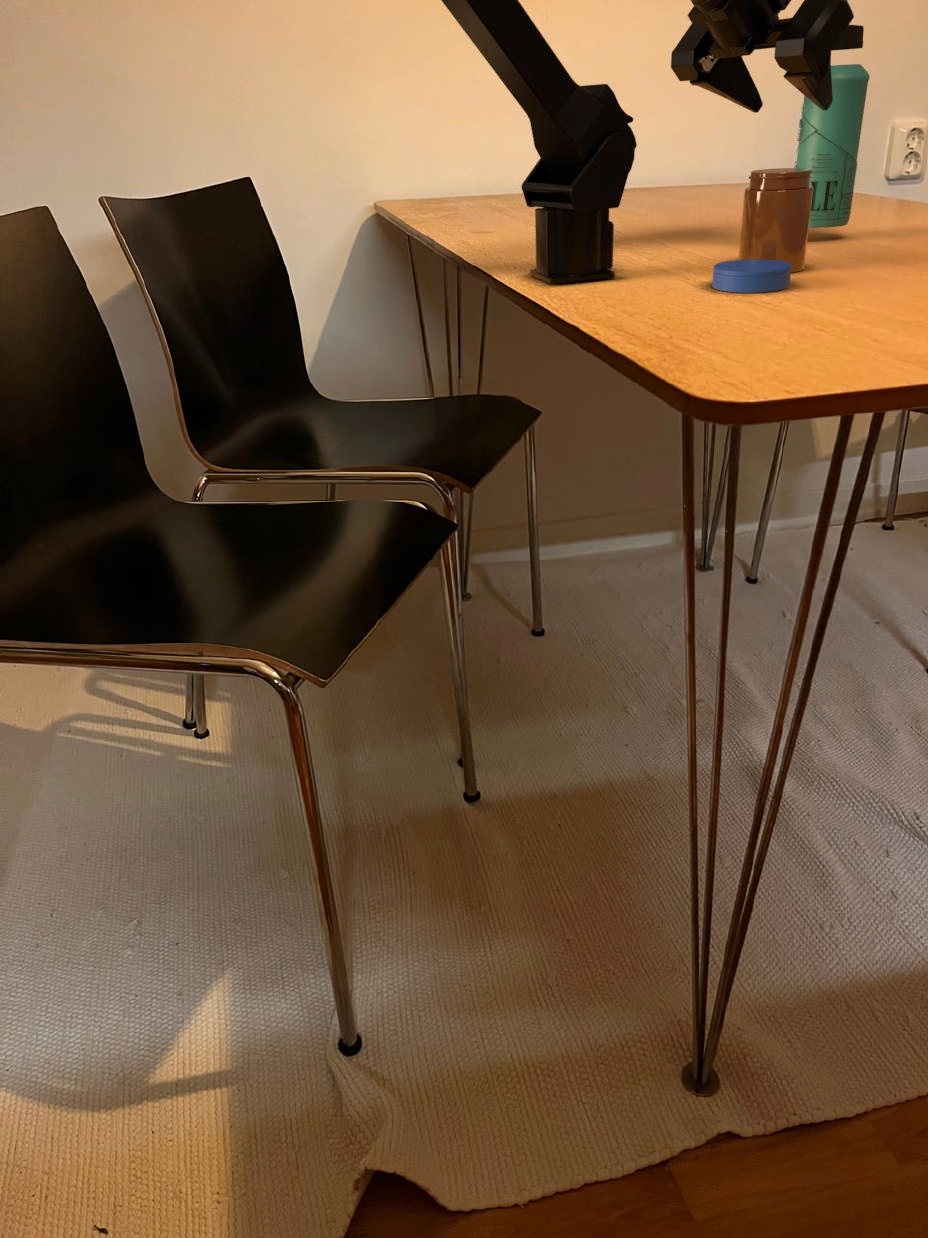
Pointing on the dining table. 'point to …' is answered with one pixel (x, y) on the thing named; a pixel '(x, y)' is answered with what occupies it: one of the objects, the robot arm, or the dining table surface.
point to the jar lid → (751, 276)
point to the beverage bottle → (834, 138)
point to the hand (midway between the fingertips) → (792, 107)
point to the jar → (777, 216)
